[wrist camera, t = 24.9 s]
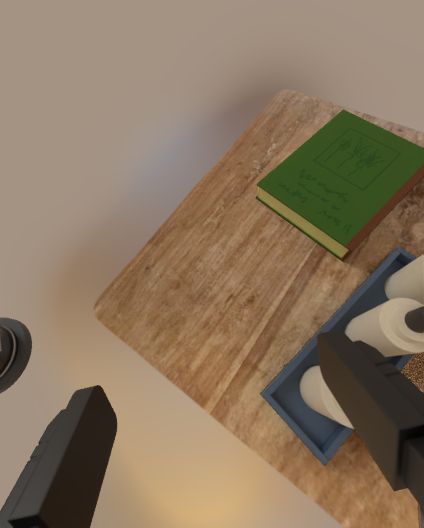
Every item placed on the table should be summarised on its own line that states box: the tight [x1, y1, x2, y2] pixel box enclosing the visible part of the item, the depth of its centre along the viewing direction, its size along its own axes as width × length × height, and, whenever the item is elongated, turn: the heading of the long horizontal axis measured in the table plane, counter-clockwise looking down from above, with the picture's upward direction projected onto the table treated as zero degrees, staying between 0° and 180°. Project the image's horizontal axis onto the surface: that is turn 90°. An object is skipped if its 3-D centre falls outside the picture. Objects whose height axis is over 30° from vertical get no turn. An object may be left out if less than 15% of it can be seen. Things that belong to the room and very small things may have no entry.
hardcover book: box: [256, 110, 424, 261], centre depth 44 cm, size 25×19×4 cm
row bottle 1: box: [344, 298, 424, 357], centre depth 29 cm, size 6×6×14 cm
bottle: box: [299, 366, 354, 429], centre depth 27 cm, size 6×6×14 cm
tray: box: [260, 246, 417, 466], centre depth 34 cm, size 30×10×3 cm, turn 132°
